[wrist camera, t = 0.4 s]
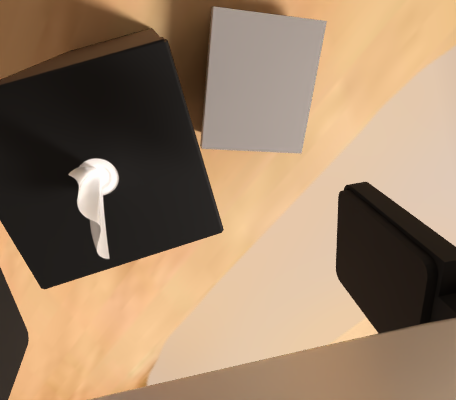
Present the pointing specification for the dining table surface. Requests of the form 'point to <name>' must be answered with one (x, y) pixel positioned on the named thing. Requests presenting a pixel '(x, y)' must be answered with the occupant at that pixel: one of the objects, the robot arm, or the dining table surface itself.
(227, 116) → the podium
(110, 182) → the tall black pillar
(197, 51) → the dining table surface
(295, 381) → the robot arm
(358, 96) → the dining table surface
